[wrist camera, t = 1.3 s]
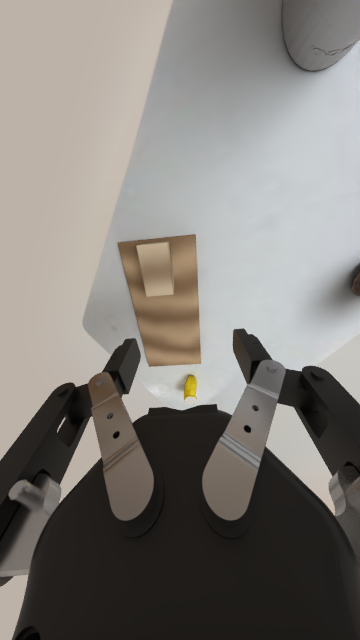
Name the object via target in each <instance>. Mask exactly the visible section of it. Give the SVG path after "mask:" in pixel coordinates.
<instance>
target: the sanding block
mask: <svg viewBox="0 0 360 640" xmlns="http://www.w3.org/2000/svg"><path fill="white" fill-rule="evenodd" d="M136 247H137V252H138V257H139V262H140V266H141V271H142V276H143V281H144V286H145V291H146V296H147V297H150V296H162V295H173V292H174V286H175V285H174V276H173V267H172V258H171V249H170V241H165V242H156V243H146V244H141V245H137V246H136Z"/></svg>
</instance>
